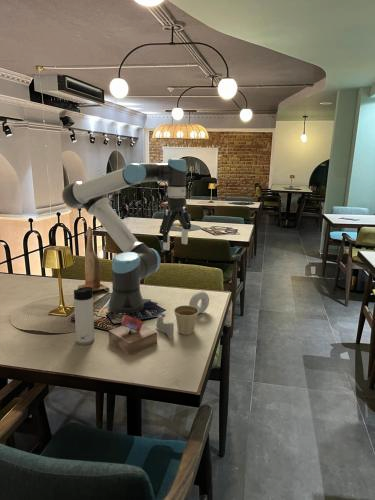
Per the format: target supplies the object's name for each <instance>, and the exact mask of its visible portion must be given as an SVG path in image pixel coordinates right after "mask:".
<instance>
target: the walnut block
mask: <svg viewBox="0 0 375 500" xmlns="http://www.w3.org/2000/svg"><path fill="white" fill-rule="evenodd" d="M126 329H127V330H126ZM129 330H130V331H129ZM127 332H128V333H127ZM108 342H109V344H110V345H112V346H114V347H116V348H117V349H119V350H120V351H122V352H123V353H124V354H126V355H128V356H130V357H131V356H132V355H135V354H137V353H139V352H141V351H143V350H145V349H148V348H150V347H152V346H155V345H157V344H158V332H157V331H156V330H154V329H152V328H151V327H148V326H147V325H145V324H143V325H142V327H141V329H140V332H138V331H135V330H134V329H130V328H129V327H125V326H123V325H120V326H118V327H115V328H113V329H110V330H108Z"/></svg>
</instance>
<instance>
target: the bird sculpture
mask: <svg viewBox="0 0 375 500" xmlns="http://www.w3.org/2000/svg"><path fill="white" fill-rule="evenodd" d="M93 235H94V233H93V229H92V227H91V226H88V227H87V229H86V231H85V237H87V241H86V249H85V256H84V257H85V258H84V278H85V281H84V284H80V285H78V287H77V289H80V288H82V287H91V288H92V291H93V292H96V291H100V290H102V289H104V290H107V291H110V287H108V286H105V285H104V284H101V267H100V259H99V256H98V255H97V253H96V252H95V250H94V242H93V240H94V237H93Z"/></svg>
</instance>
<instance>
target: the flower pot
mask: <svg viewBox="0 0 375 500" xmlns="http://www.w3.org/2000/svg"><path fill="white" fill-rule="evenodd" d="M173 313H174V315H175V318H176V327H177V332H178V333H179V334H182V335H184V336H185V335H186V336H187V335H191V334H193V333H194V332H195V327H196V321H197V317H198V315H199V314H198V313H199V310H198V309H197V308H196V307H194V306H190V305H179V306H176V307H174V309H173Z"/></svg>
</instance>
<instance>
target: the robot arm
mask: <svg viewBox="0 0 375 500" xmlns="http://www.w3.org/2000/svg"><path fill="white" fill-rule="evenodd" d="M153 182H160V183H161V182H162V183H163V182H164V183H167V194H166V195H167V196H168V197H167V207H169V209H164V212H163V218H162V222H161V224H160V227H159V232H158V233H159V234H161V235H162V250H165V251H170V242H171V235H170V234H169V233H170V231H171V229H172V227H173V225H174V222H176V221H177V220H178V221H179V223H180V225H181V226H182V229H181V245H182V244H183V245H188V241H189V240H188V239H189V237H188V236H189V230H191V227H192V224H191V219H190V215H189V212H188V207H186V201H187V200H186V195H187V194H186V193H187V190H186V186H187V161H186V159H184V158H168V159H167V163H166V162H165V163H164V162H160V163H159V162H132V163H127V164H126V166H125V167H123V168H120V169H117V170H115V171H111V172H108V173H105V174H102V175H100V176H98V177H95V178H92V179H89V180H86V181H83V182H82V181H75V182H73V183H69V184H67V185H66V186H65V187H64V188H63V190H62V192H61V193H62V194H61V196H62V201H63V203H64V204H65V205H66V206H67V207H69V208H71V209H74V210H75V209H76V210H78V209H79V210H80V209H84V210H85V211H86V212H87V213H88V215H90V216H94V217H95V218H96V220H98V222H99V223H100V225H101V226H102V227H103V229H104V230H105V231H106V232H107V233H108V235H109V236H110V237H111V238H112V240H113V241H114V243H115V244H116V245H117V247H119V248H120V250H121V251H122V252H121V253H118V254H116V255H115V256H113V258H112V260H111V278H112V280H111V281H112V282H111V283H112V285H111V286H112V291H111V295H110V297H109V301H108V309H109V311H111V313H114V312H116V313H115V314H118V313H132V314H134V313H133V312H137V311H139V312H141V311H142V310H144V308H145V300H144V299H143V295H142V292H141V280H143V279H145V278H147V277H148V276H151V275H153V274H154V273H156V272H157V271H158V270H159V268H160V267H161V256H160V254H159V252H158V251H157V250H156V249H154V248H150V247H149V246H147V245H146V244H145V242H141V241H139V240H138V239H137V237H136V236H135V235H134V233H132V231H131V229H129V228H128V226H127V224H125V222H124V221H123V220H122V219H121V218H120V217H119V215H118V214H117V212H116V211H115V210H114V209H113V207H112V206H111V205H110V199H109V195H108V194H110V193H113V192H116V191H119V190H122V189H125V188H129V187H131V186H135V185H138V184H142V183H153ZM143 307H144V308H143ZM141 309H142V310H141ZM140 310H141V311H140ZM137 313H138V312H137Z"/></svg>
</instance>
